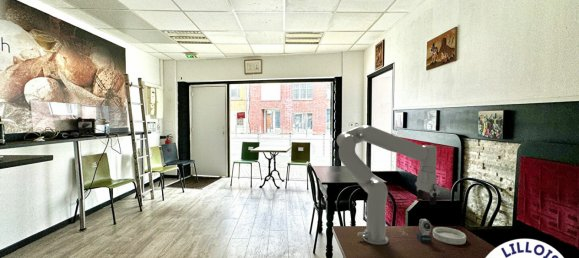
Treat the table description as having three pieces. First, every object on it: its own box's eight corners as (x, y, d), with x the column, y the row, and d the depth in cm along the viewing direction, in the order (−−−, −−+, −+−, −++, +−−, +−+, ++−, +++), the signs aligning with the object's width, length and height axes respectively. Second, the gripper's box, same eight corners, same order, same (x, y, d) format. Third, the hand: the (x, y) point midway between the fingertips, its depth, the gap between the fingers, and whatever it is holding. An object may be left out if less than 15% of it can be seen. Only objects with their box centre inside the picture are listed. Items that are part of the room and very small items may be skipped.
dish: (447, 245, 138) (447, 239, 138) (426, 233, 153) (426, 228, 153) (472, 243, 141) (473, 237, 141) (450, 231, 156) (450, 226, 156)
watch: (422, 243, 140) (422, 222, 140) (415, 236, 148) (415, 216, 148) (433, 243, 140) (433, 222, 139) (425, 237, 148) (426, 217, 147)
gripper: (410, 166, 151) (409, 197, 151) (433, 172, 134) (431, 207, 134) (422, 166, 152) (421, 196, 153) (446, 172, 135) (444, 206, 136)
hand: (426, 201), depth 144 cm, fingers open, 9 cm apart
